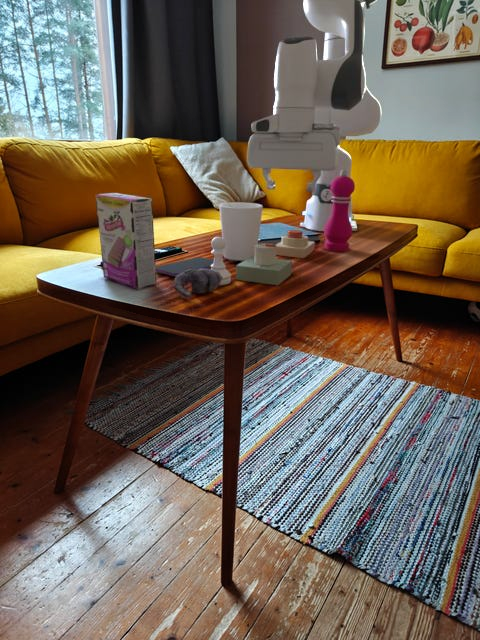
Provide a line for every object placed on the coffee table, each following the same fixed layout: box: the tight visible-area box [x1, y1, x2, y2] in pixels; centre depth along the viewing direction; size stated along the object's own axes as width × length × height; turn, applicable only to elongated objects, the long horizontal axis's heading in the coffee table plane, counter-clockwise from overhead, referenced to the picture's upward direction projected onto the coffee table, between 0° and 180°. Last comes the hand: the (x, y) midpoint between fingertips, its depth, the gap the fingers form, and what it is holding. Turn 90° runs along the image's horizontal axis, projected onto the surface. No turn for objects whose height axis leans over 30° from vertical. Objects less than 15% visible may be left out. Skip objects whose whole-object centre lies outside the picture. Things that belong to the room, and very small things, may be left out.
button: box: [287, 229, 304, 238], centre depth 113 cm, size 4×4×2 cm
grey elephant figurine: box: [173, 268, 222, 299], centre depth 82 cm, size 5×5×10 cm
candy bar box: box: [95, 192, 157, 290], centre depth 85 cm, size 11×5×16 cm, turn 50°
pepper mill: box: [323, 170, 356, 252], centre depth 115 cm, size 7×7×20 cm
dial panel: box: [235, 256, 293, 286], centre depth 93 cm, size 9×9×3 cm
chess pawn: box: [210, 236, 232, 286], centre depth 88 cm, size 5×5×9 cm
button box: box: [275, 233, 316, 259], centre depth 114 cm, size 10×8×4 cm
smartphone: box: [156, 256, 214, 277], centre depth 98 cm, size 7×1×15 cm
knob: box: [254, 243, 277, 265], centre depth 91 cm, size 4×4×4 cm
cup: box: [218, 201, 264, 264], centre depth 103 cm, size 10×10×13 cm
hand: (290, 190), depth 102 cm, fingers open, 8 cm apart
